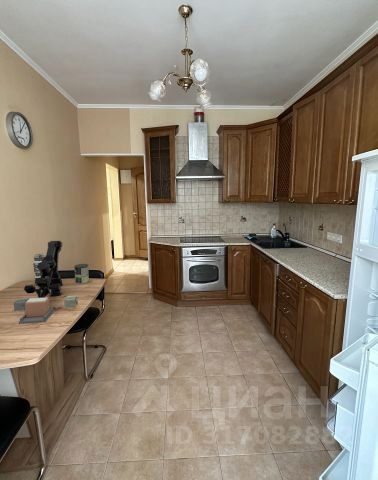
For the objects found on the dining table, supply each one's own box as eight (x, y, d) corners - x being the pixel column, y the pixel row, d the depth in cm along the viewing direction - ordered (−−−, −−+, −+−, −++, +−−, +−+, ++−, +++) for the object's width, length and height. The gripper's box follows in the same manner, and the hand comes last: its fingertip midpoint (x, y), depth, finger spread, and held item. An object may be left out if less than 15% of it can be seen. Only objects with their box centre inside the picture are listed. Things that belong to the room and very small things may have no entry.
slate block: (19, 306, 154) (18, 299, 153) (29, 306, 155) (29, 298, 154) (14, 310, 148) (13, 302, 147) (25, 310, 149) (24, 302, 148)
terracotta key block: (30, 312, 143) (29, 298, 142) (49, 311, 145) (48, 297, 143) (26, 317, 137) (24, 302, 136) (45, 315, 139) (44, 301, 137)
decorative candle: (51, 284, 196) (48, 253, 192) (44, 288, 187) (42, 255, 183) (39, 284, 195) (36, 253, 192) (32, 288, 186) (29, 255, 183)
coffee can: (74, 285, 194) (73, 267, 192) (75, 281, 204) (74, 264, 202) (88, 283, 198) (88, 266, 196) (89, 279, 207) (88, 263, 205)
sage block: (67, 303, 159) (67, 296, 158) (77, 303, 160) (77, 295, 159) (64, 307, 153) (64, 299, 152) (74, 307, 154) (74, 299, 153)
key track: (31, 311, 147) (31, 307, 147) (55, 309, 150) (55, 305, 149) (18, 323, 132) (18, 319, 131) (45, 321, 134) (45, 317, 134)
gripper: (23, 272, 144) (16, 297, 135) (58, 270, 148) (53, 295, 138) (30, 281, 153) (24, 305, 144) (63, 279, 156) (58, 303, 147)
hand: (39, 302), depth 143 cm, fingers closed, pressing on terracotta key block
